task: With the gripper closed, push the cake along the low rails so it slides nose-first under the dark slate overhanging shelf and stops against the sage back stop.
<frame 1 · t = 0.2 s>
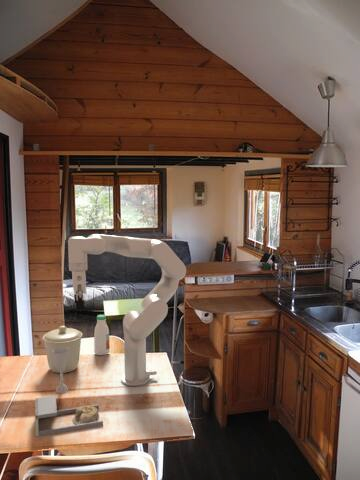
hand: (79, 306, 183), 36 cm above the table, tool pointing down, fingers open, 9 cm apart
low shelf: (54, 423, 160), on the table
canister: (63, 369, 207), on the table
chalice: (61, 390, 186), on the table
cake: (86, 419, 163), on the table
milk bottle: (102, 353, 226), on the table
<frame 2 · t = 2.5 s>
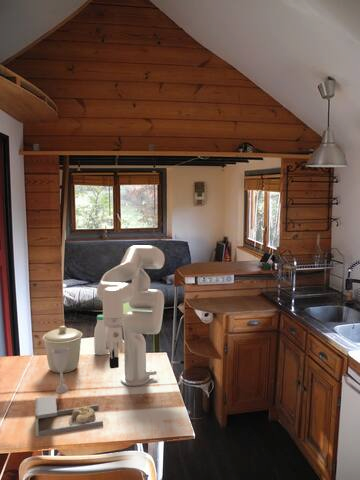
hand: (114, 367, 164), 19 cm above the table, tool pointing down, fingers closed
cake: (82, 421, 163), on the table
everything else where it was.
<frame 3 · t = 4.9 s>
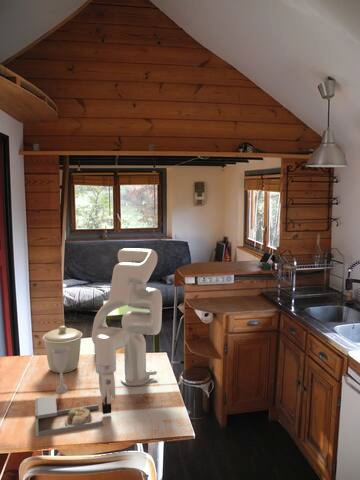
hand: (106, 412, 166), 1 cm above the table, tool pointing down, fingers closed
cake: (78, 422, 162), on the table
everything else where it was.
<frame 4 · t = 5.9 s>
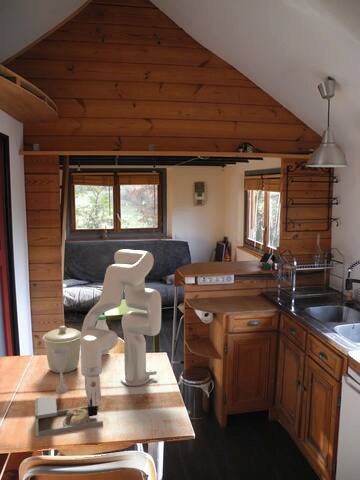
hand: (92, 414, 164), 1 cm above the table, tool pointing down, fingers closed
nothing on the table moved.
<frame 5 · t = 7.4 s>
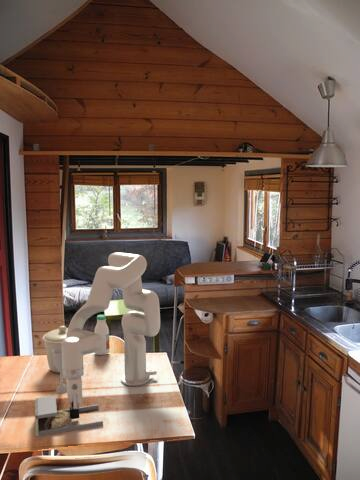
hand: (74, 417, 162), 1 cm above the table, tool pointing down, fingers closed
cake: (58, 425, 160), on the table
everything else where it was.
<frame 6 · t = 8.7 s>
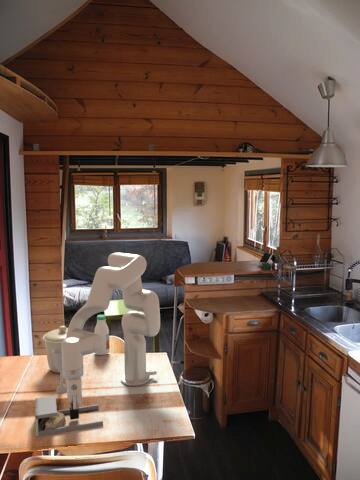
hand: (74, 417, 162), 1 cm above the table, tool pointing down, fingers closed
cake: (52, 426, 159), on the table
everything else where it was.
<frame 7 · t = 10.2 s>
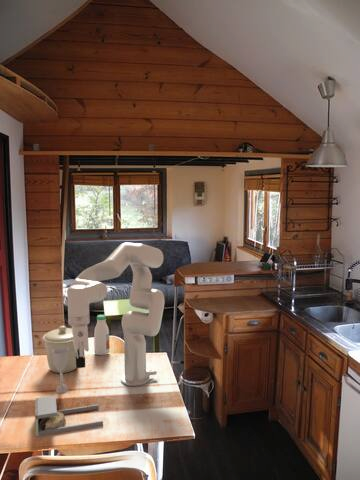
hand: (80, 366, 160), 21 cm above the table, tool pointing down, fingers closed
nothing on the table moved.
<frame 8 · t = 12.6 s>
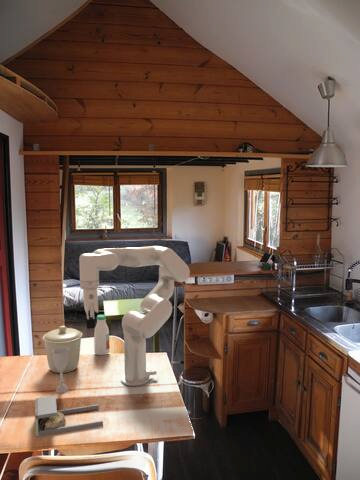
hand: (90, 327, 178), 29 cm above the table, tool pointing down, fingers closed
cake: (52, 426, 159), on the table, touching low shelf
everything else where it was.
at the end: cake 0.8 cm from the target spot, on the table; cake tilted 0° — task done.
